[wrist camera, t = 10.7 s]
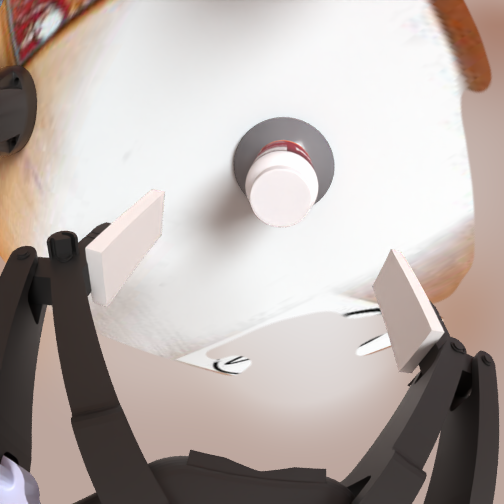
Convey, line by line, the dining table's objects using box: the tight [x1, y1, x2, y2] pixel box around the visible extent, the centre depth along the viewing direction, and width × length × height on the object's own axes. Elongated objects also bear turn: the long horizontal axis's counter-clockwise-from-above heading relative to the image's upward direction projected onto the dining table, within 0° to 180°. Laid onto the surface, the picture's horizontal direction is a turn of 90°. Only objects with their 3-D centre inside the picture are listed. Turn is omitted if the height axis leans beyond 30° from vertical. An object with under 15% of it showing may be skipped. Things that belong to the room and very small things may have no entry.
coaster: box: [234, 117, 334, 204], centre depth 31 cm, size 11×11×1 cm
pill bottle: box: [245, 140, 318, 227], centre depth 26 cm, size 6×6×11 cm
